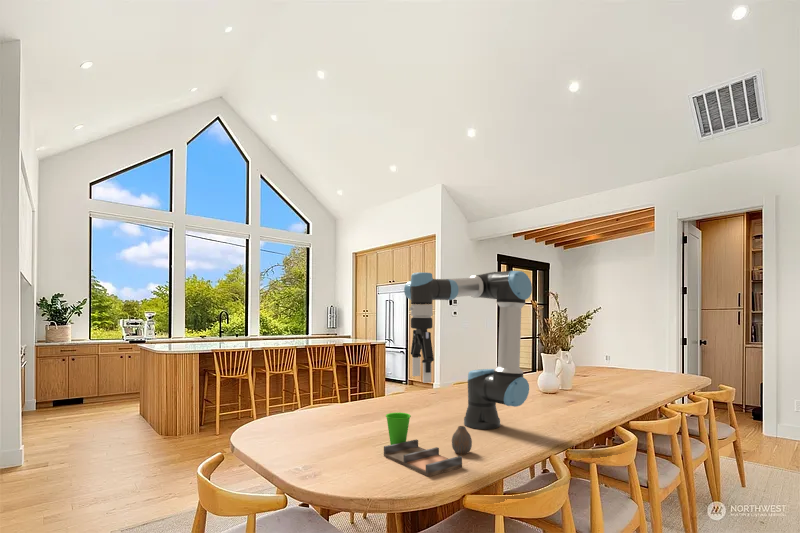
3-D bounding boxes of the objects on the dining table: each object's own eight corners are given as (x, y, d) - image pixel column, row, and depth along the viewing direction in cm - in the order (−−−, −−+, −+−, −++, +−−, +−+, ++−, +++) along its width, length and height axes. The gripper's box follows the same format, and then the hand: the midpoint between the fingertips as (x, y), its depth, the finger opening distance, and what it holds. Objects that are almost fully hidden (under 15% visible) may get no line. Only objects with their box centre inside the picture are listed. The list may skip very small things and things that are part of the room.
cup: (396, 441, 175) (396, 411, 176) (415, 446, 170) (415, 415, 170) (380, 447, 168) (380, 415, 169) (399, 452, 163) (400, 419, 164)
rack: (416, 448, 167) (416, 439, 167) (462, 467, 149) (462, 456, 149) (383, 456, 159) (383, 446, 159) (427, 476, 140) (427, 465, 141)
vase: (448, 450, 165) (448, 425, 166) (465, 448, 167) (465, 423, 168) (457, 457, 159) (457, 430, 159) (475, 454, 161) (475, 428, 162)
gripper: (402, 315, 176) (402, 373, 174) (420, 318, 151) (420, 385, 150) (422, 315, 177) (422, 373, 176) (443, 318, 153) (443, 385, 152)
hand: (421, 379), depth 163 cm, fingers open, 13 cm apart
